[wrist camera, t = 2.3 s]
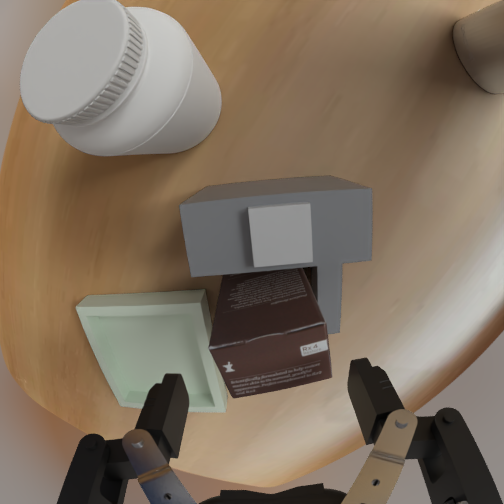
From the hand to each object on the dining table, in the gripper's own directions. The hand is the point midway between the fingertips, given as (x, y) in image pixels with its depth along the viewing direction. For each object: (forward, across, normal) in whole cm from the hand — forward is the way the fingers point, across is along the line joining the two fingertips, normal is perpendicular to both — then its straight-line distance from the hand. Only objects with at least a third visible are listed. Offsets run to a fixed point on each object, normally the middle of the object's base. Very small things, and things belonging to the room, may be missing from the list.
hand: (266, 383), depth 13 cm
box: (+14, 0, 0) cm, 14 cm away
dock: (+13, -1, -1) cm, 14 cm away
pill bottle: (+14, +6, -15) cm, 21 cm away
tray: (+14, +11, +8) cm, 20 cm away
